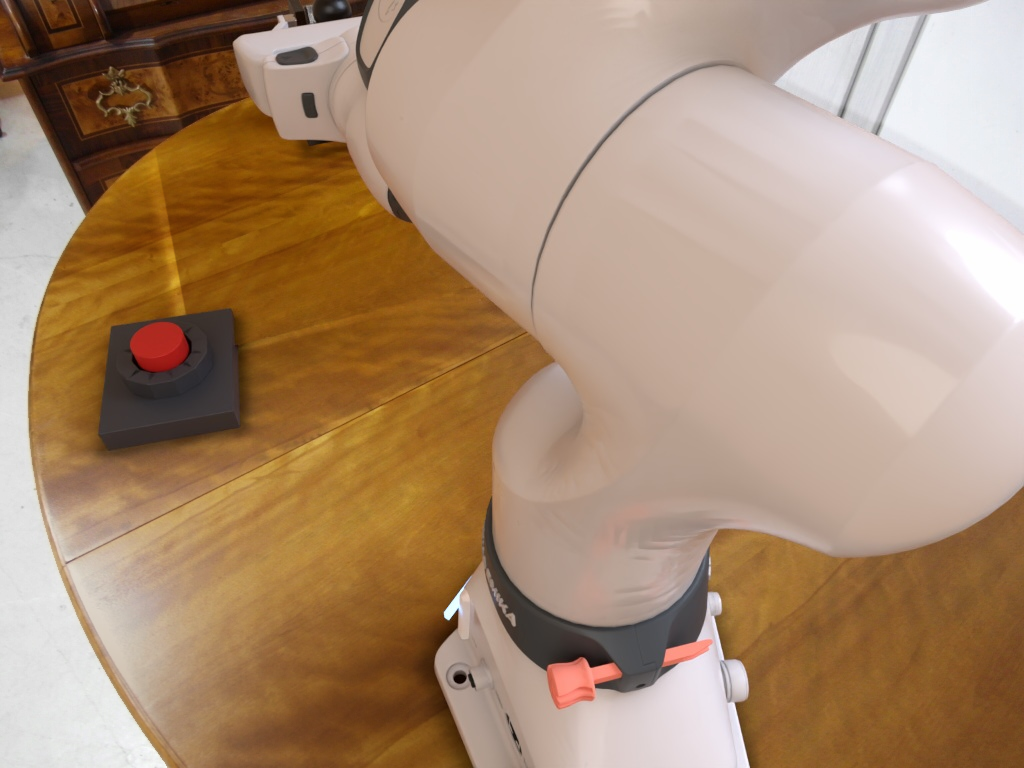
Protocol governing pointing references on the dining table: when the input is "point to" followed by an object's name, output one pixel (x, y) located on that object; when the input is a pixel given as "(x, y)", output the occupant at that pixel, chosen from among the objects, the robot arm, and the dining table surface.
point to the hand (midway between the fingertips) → (337, 14)
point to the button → (159, 347)
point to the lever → (327, 11)
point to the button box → (172, 385)
